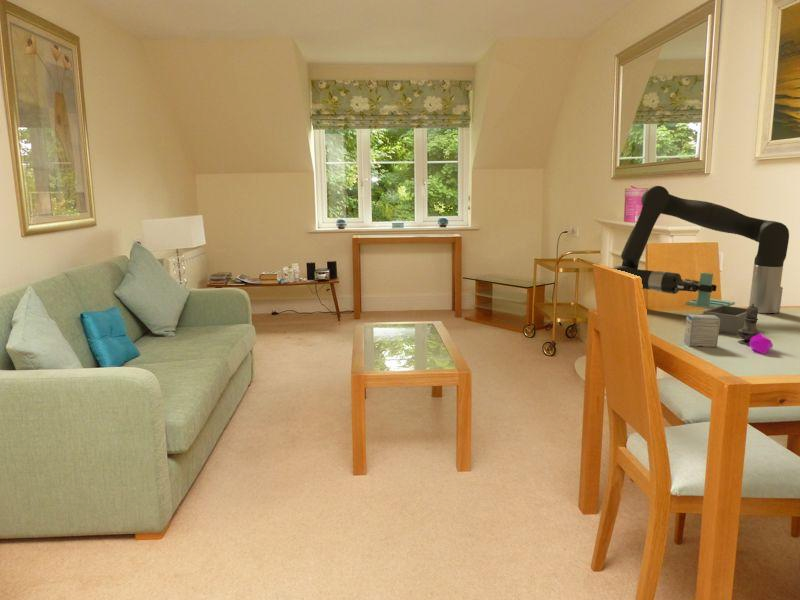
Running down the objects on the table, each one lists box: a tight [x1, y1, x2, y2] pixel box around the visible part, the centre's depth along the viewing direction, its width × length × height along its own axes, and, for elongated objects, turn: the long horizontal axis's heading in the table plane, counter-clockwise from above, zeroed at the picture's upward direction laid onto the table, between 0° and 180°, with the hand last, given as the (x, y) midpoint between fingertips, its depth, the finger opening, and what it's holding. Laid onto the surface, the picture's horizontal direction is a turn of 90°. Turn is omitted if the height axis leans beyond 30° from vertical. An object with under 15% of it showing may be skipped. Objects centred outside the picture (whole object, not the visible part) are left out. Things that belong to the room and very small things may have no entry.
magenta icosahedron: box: [748, 332, 774, 355], centre depth 174 cm, size 5×5×5 cm
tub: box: [702, 305, 747, 336], centre depth 201 cm, size 16×10×6 cm, turn 134°
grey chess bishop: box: [737, 304, 762, 346], centre depth 182 cm, size 6×6×12 cm
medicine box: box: [683, 314, 720, 348], centre depth 179 cm, size 8×4×9 cm, turn 84°
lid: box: [684, 272, 736, 310], centre depth 221 cm, size 17×11×12 cm, turn 134°
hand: (713, 288), depth 215 cm, fingers closed on lid, 3 cm apart
